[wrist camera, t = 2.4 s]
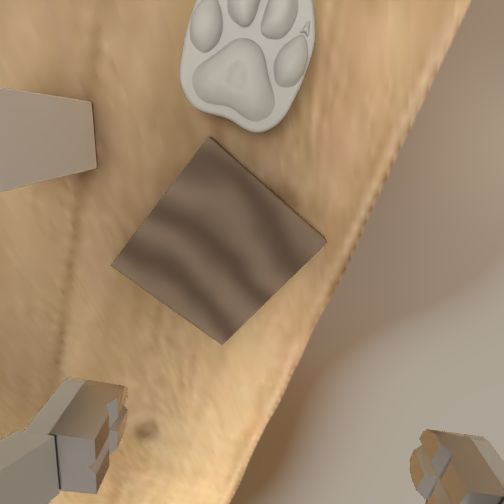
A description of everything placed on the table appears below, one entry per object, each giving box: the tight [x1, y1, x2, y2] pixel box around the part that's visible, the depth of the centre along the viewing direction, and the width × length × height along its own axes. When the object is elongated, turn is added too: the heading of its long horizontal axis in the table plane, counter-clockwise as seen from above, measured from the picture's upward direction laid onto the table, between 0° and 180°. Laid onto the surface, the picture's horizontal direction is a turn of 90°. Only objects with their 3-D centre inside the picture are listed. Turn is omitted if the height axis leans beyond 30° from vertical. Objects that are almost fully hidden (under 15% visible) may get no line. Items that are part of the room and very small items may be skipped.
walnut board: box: [111, 137, 327, 345], centre depth 40 cm, size 20×18×2 cm
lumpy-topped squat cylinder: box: [180, 0, 315, 133], centre depth 29 cm, size 10×13×9 cm
